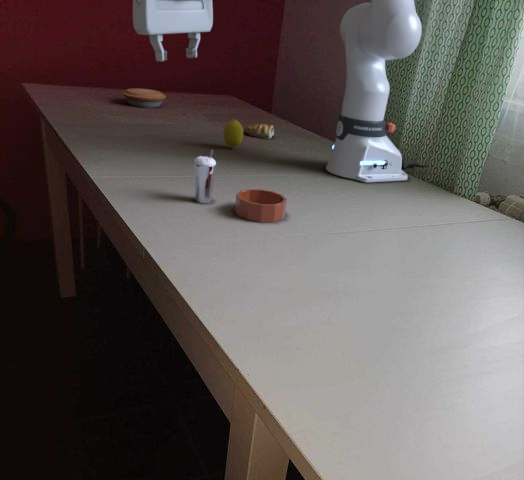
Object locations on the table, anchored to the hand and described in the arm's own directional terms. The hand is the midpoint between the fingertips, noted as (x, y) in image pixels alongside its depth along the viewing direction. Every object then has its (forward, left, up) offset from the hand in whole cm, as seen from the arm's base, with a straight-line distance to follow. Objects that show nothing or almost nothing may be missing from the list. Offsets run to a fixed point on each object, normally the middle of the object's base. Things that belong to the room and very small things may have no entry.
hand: (177, 59), depth 109 cm
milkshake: (-4, +12, -25) cm, 28 cm away
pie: (-4, -95, -25) cm, 98 cm away
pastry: (-36, -52, -25) cm, 68 cm away
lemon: (-22, -34, -25) cm, 48 cm away
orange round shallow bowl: (-14, +20, -25) cm, 35 cm away
